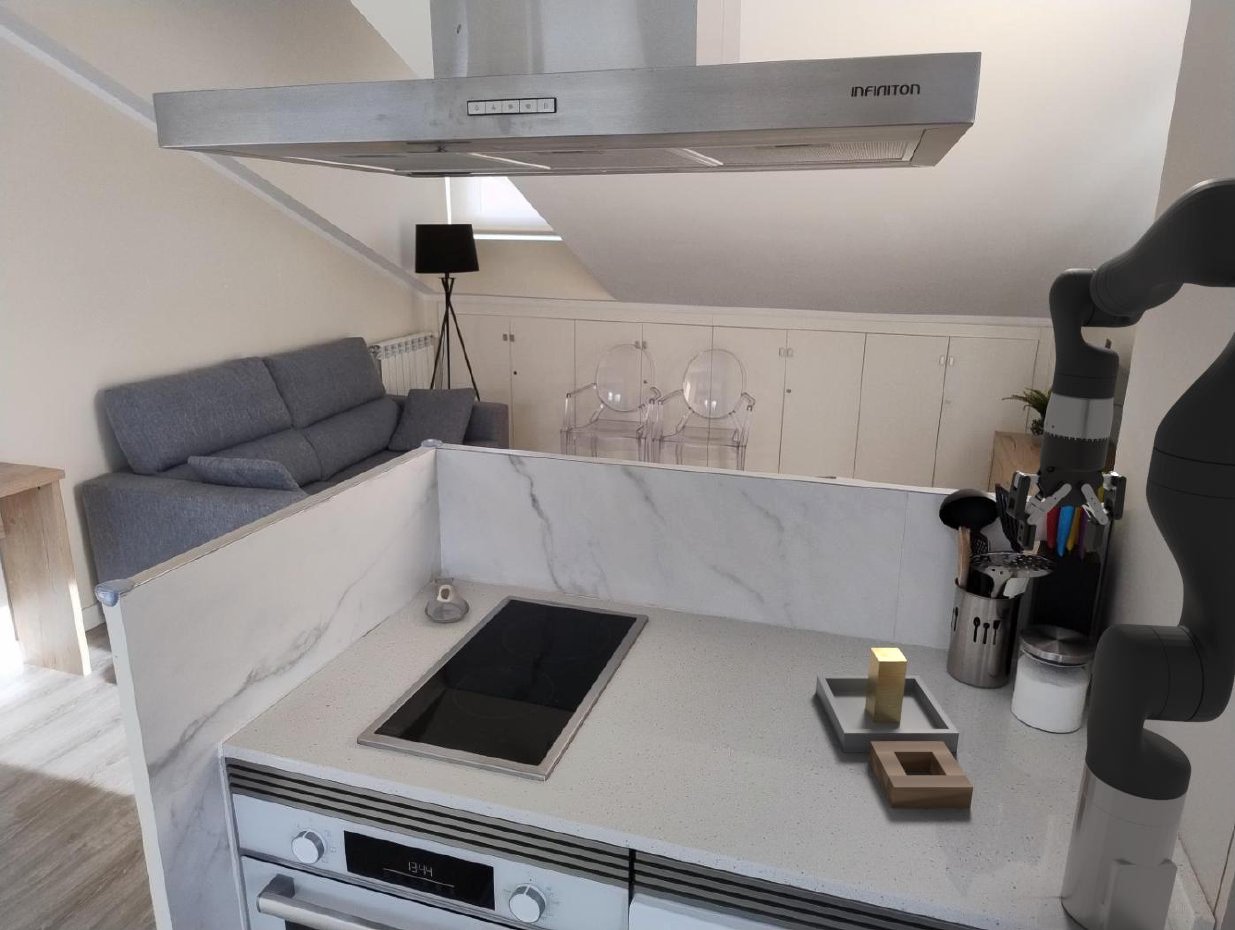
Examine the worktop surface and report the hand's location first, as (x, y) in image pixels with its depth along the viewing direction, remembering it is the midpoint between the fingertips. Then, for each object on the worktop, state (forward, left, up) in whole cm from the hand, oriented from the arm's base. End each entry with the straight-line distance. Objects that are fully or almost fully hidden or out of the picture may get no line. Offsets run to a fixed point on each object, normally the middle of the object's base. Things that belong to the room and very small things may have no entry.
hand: (1058, 549), depth 116 cm
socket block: (-8, +18, -30) cm, 36 cm away
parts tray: (+7, +19, -30) cm, 36 cm away
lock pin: (+7, +19, -29) cm, 35 cm away
